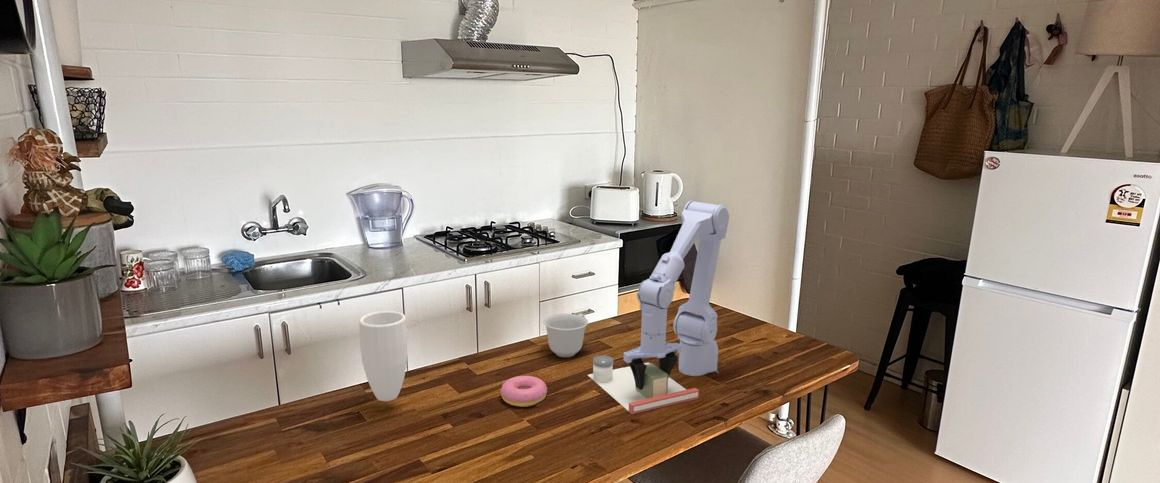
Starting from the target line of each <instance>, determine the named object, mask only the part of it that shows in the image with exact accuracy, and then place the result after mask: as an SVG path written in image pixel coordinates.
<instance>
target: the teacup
mask: <svg viewBox="0 0 1160 483" xmlns="http://www.w3.org/2000/svg"><path fill="white" fill-rule="evenodd" d="M588 324H589V320H588V319H587V318H586V316H585V315H584V313H578V314H575V313H555V314H552V315H548V316H547V317H546V318H544V319H543V325H545V328H546V333H547V334H546V336H547V341H548V342H547V343H548V346H549V349H550V350H551V351H552V352H553V353H554V354H555V355H556V356H558V357H561V358H571V357H574V356H575V355H576V354H577V353H579V351H580V350H581V349H582V346H583V343H584V336H585V330H586V326H587V325H588Z"/></svg>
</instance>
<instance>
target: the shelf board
mask: <svg viewBox="0 0 1160 483" xmlns="http://www.w3.org/2000/svg"><path fill="white" fill-rule="evenodd" d="M643 363H644V364H650V362H643ZM587 376H588V377H589V378H590V379H591V380H592V381H594V380H593V373H589V374H587ZM594 383H595V384H597V385H598V386H599V387H600V388H601V389H602V390H604V391H605V392H606V393H607V394H609V396H611V397H612V398H613V399H614V400H615V401H616V402H617V403H618V404H620V405H621V406H622V407H623V408H624V409H625V410H626V411H627V412H629V413H630V414H632V415H636V414H639V413H643V412H649V411H651V410H655V409H656V410H657V409H660V408H664V407H669V406H673V405H677V404H681V403H682V404H683V403H685V402H690V401H693V400H697V399H699V397H700V396H699V395H700V389H698V388H696V387H693V388H688V389H686V388H685V387H683V386H682V385H681V384H679V383H678V382H677V381H675V380H674V379H673V378H672V377H669V378H668V390H667V394H666V395H661V396H657V397H652V398H648V399H646V398H645V397H644V396H643V395H641V394H640V393H639V392H638V391H636V390H635V379H634V376H633V372H632V370H631V368H630V365H629V366H626V367H624V366H623V367H620V368H615V369H613V376H612V381H610V382H607V383H599V382H596V381H594Z"/></svg>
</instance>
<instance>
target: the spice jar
mask: <svg viewBox="0 0 1160 483" xmlns="http://www.w3.org/2000/svg"><path fill="white" fill-rule="evenodd" d="M592 363H593V364H592V365H593V366H592V367H593V368H592V374H593V380H592V381H593V382H595V381H596V382H599V383H607V382H610V381H612V376H613V370H614V369H613V368H614V367H613V366H614V358H613V357H611V356H609V355H601V354H600V355H597V356H594V357H593V359H592ZM596 382H595V383H596Z"/></svg>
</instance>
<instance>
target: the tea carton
mask: <svg viewBox="0 0 1160 483" xmlns="http://www.w3.org/2000/svg"><path fill="white" fill-rule="evenodd" d="M649 363H650V362H649ZM645 365H646V366H647V367H646V370H645V374H644V384H643V389H642V390H639V389H638V388H637V387H636V385H635V390H636V391H638V392H639V393H640V394H641V395H643V396H644V397H645V398H646V399H648V398H652V397H657V396H661V395H666V394H667V390H668V374H667V373H665V372H664V371H662V370H661V369H660V367H658V366H657V365H656V364H653V363H650V364H645Z"/></svg>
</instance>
